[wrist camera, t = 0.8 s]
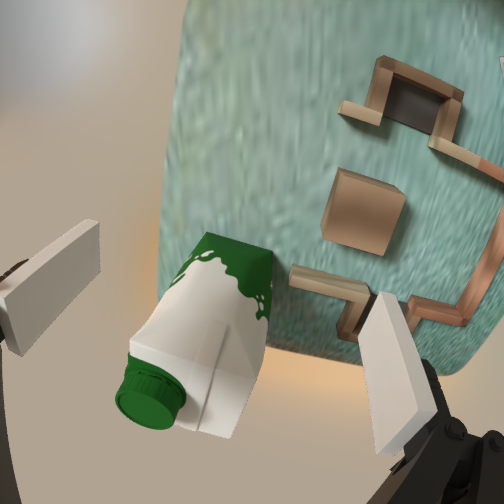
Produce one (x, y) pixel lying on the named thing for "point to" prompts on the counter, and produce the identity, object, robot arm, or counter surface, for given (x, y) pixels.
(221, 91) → the counter surface
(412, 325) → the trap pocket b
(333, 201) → the block
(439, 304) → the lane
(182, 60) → the counter surface
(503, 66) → the light bulb box
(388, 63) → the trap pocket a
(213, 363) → the milk carton
